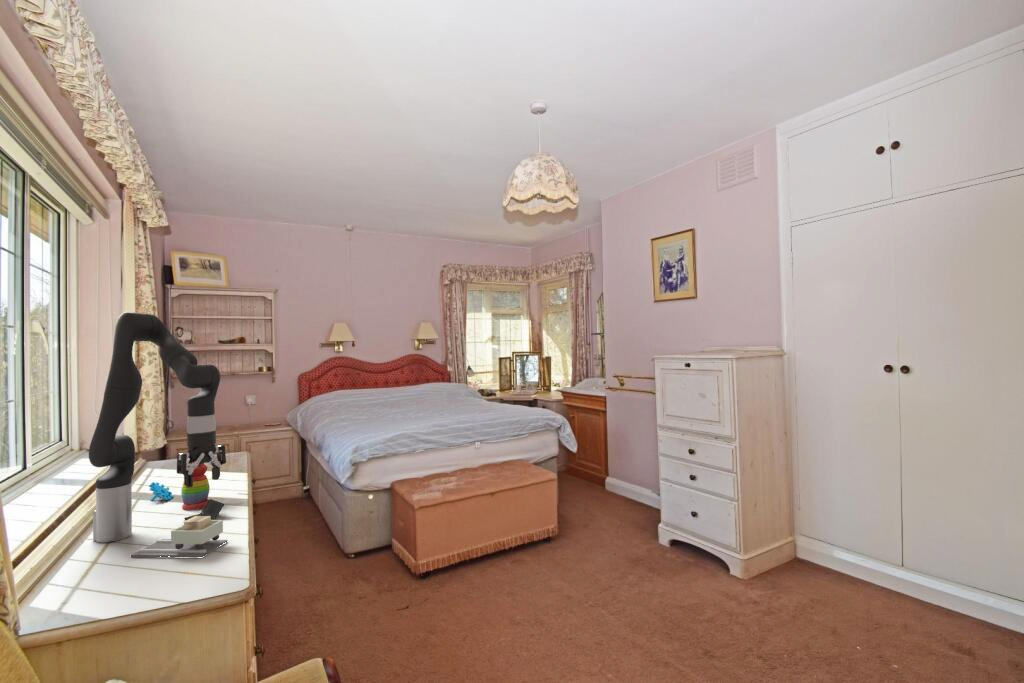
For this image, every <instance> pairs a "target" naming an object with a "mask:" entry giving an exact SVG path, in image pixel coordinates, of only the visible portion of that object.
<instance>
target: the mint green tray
mask: <svg viewBox="0 0 1024 683" xmlns="http://www.w3.org/2000/svg"><path fill="white" fill-rule="evenodd" d="M222 533H224V520H223V519H215V520H211V526H209V527H207V528H205V529H203V530H201V531H192V530H184V524H182V525H181V526H178V527H177V528H174V529H173V530H171V531H170V539H171V544H176V545H175V547H176V549H181V548H183V546H184V544H196V548H197V549H198V550H200V549H202V548H203V547H204V544H203V543H205V542H207V541H208V540H214V541H215V540H219V539H220V535H221V534H222Z"/></svg>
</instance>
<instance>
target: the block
mask: <svg viewBox="0 0 1024 683" xmlns="http://www.w3.org/2000/svg"><path fill="white" fill-rule="evenodd" d="M183 525H184V530H192V531H201V530H203V529H205V528H207V527H209V526H211V516H194V517H192V518H190V519H188V520H184V521H183Z"/></svg>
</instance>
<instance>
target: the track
mask: <svg viewBox="0 0 1024 683" xmlns="http://www.w3.org/2000/svg"><path fill="white" fill-rule="evenodd" d="M227 541H229V540H228V539H217V540H215V541H214V540H212V539H210V540H208V541H207V542H205V543H203V544H204V547H203V548H202V549H200V550H198V549H197V548H196V544H184V546H183V548H181V549H176V547H175V545H176V544H171V538H170V539H169V538H164V539H163V538H162V539H157V540H156V541H155V542H153V543H152V544H150V545H148V546H146V547H143V548H139V549H137V551H135V552H134V553H132V554H130V558H131V557H160V556H161V557H168V556H170V557H203V556H205V555H206V554H208V553H209V554H211V553H212V552H211V551H213V550H214V551H216V550H217V549H216V548H217V547H219V546H220V545H222V544H223V543H225V542H227ZM227 543H228V542H227ZM222 546H223V545H222ZM219 548H220V547H219ZM215 549H216V550H215ZM214 551H213V552H214ZM210 552H211V553H210ZM209 554H208V555H209ZM206 556H207V555H206ZM206 556H205V557H206ZM203 558H204V557H203Z"/></svg>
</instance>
